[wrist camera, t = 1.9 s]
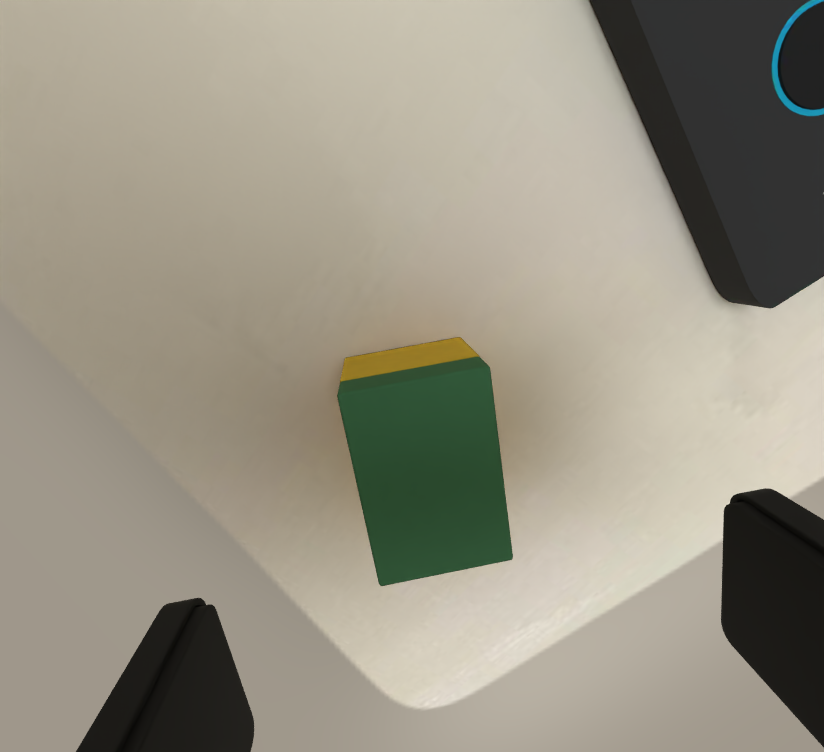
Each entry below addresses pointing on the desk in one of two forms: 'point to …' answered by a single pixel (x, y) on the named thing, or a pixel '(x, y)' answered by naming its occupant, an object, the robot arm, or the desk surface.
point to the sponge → (426, 459)
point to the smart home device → (735, 130)
